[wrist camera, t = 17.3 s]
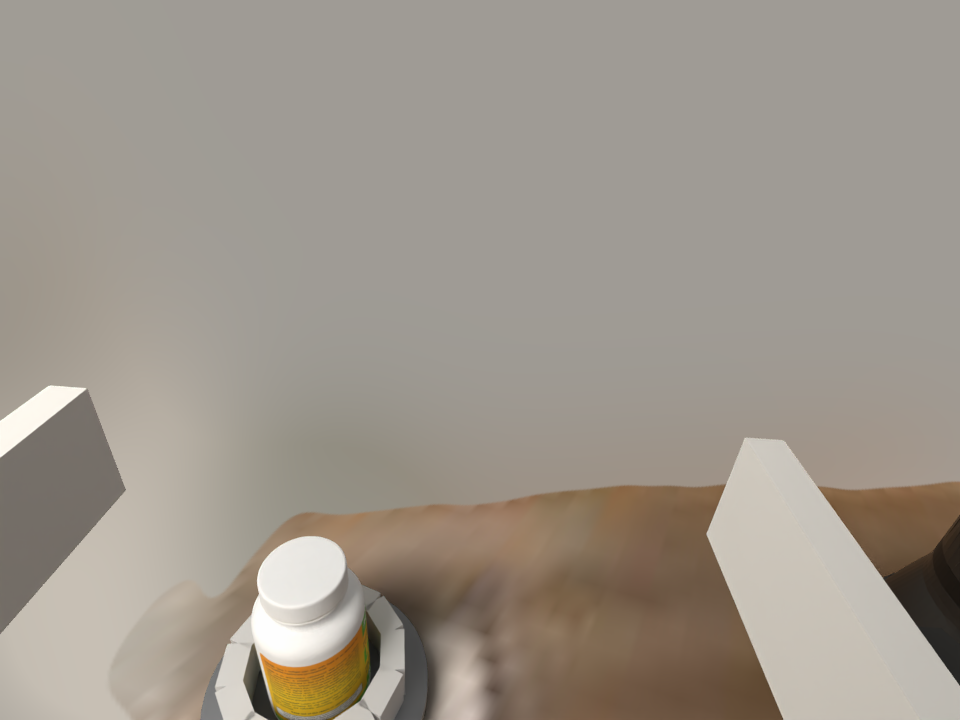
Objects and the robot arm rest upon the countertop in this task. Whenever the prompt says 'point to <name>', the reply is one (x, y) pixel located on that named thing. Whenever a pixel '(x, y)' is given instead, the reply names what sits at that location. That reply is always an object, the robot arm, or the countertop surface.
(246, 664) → the bottle holder
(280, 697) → the supplement bottle
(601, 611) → the countertop surface
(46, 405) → the robot arm
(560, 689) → the countertop surface
